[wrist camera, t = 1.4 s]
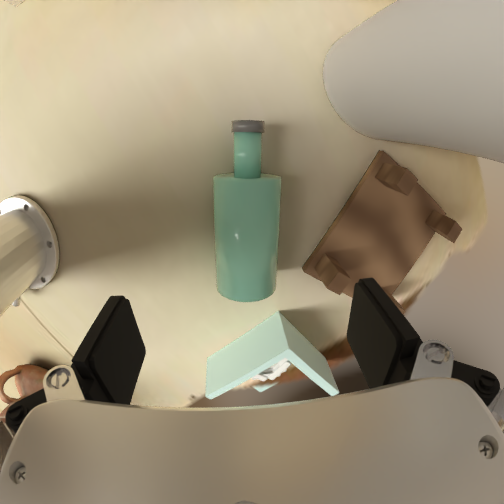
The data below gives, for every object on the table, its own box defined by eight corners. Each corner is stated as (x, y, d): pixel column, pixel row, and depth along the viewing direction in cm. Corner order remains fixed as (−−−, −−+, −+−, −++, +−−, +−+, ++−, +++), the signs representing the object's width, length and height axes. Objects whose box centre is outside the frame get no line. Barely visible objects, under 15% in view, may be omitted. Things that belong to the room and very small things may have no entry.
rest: (375, 307, 35) (393, 331, 30) (301, 268, 32) (315, 293, 27) (441, 211, 31) (468, 225, 26) (379, 150, 27) (407, 155, 22)
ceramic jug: (103, 409, 41) (86, 470, 28) (60, 413, 42) (41, 463, 29) (40, 339, 34) (2, 400, 21) (5, 353, 35) (-27, 401, 22)
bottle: (267, 270, 32) (283, 298, 27) (214, 274, 31) (220, 304, 26) (272, 123, 26) (292, 121, 20) (210, 122, 25) (216, 119, 19)
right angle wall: (207, 354, 37) (205, 396, 30) (277, 307, 35) (288, 348, 28) (260, 392, 41) (266, 430, 34) (324, 355, 39) (339, 392, 32)
